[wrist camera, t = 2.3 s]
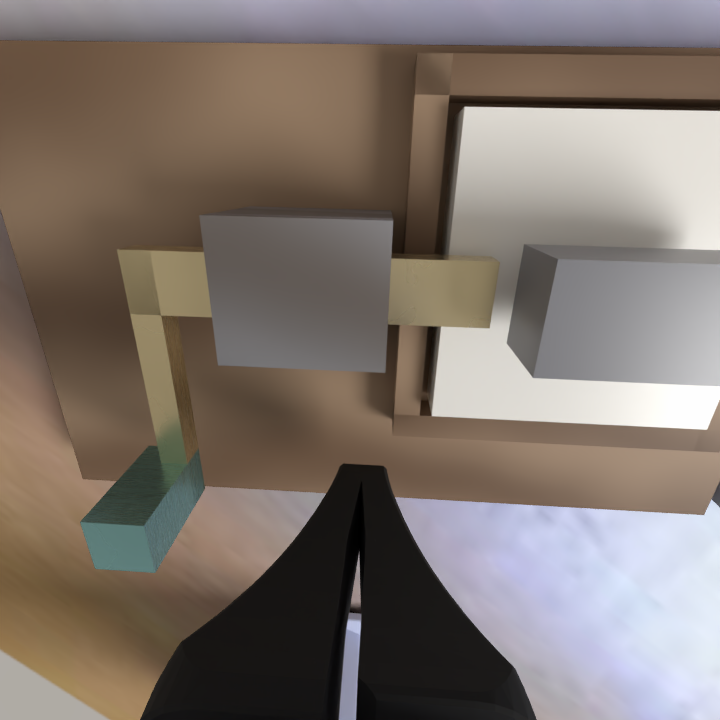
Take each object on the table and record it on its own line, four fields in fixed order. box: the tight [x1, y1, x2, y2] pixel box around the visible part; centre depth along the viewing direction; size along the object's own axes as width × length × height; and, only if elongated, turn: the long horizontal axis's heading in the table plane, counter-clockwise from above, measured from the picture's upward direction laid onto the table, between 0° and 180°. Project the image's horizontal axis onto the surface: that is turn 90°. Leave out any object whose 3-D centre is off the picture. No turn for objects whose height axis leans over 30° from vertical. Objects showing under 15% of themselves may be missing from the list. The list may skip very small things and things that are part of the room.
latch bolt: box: [80, 245, 500, 573], centre depth 10 cm, size 8×10×3 cm
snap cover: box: [427, 107, 720, 430], centre depth 10 cm, size 8×8×4 cm
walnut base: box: [0, 40, 720, 515], centre depth 12 cm, size 14×24×5 cm, turn 89°
